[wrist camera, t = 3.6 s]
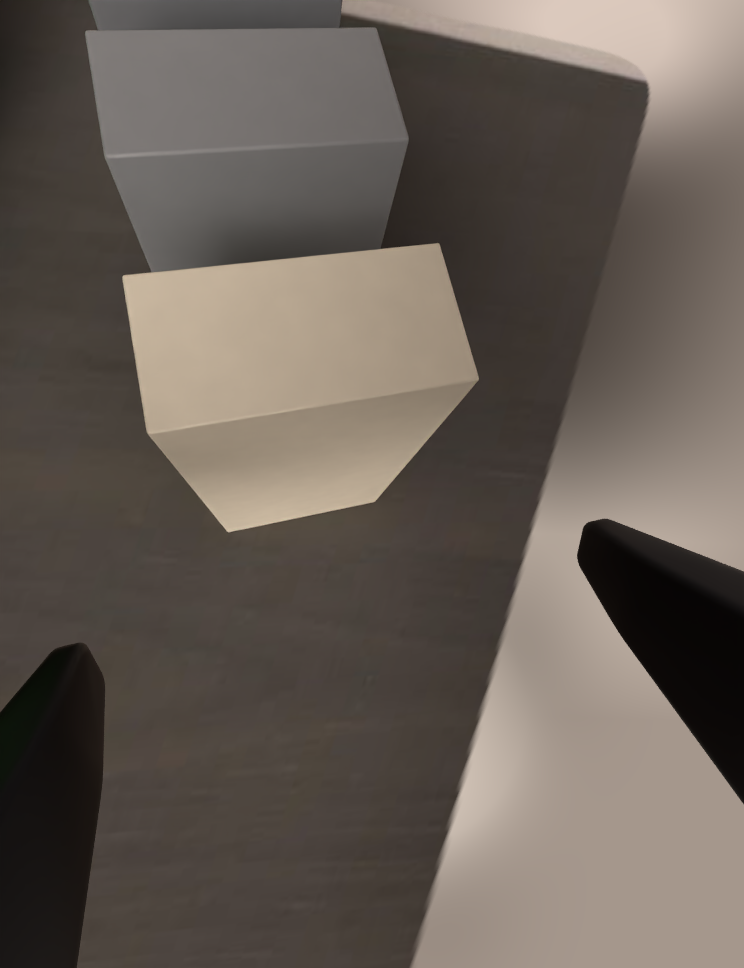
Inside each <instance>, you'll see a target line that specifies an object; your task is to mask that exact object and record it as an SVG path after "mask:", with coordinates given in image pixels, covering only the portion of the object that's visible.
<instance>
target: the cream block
mask: <svg viewBox="0 0 744 968" xmlns="http://www.w3.org/2000/svg"><path fill="white" fill-rule="evenodd" d="M122 279H123V285H124V292H125V298H126V304H127V310H128V317H129V323H130V329H131V336H132V342H133V348H134V355H135V361H136V367H137V374H138V380H139V386H140V393H141V399H142V405H143V412H144V418H145V424H146V431H147V433H148V435H149V436H150V437H151V438H152V440H153V441H154V442H155V443H156V445H157V446H158V447H159V448H160V450H161V451H162V452H163V453H164V454H165V456H166V457H167V458H168V459H169V461H170V462H171V463H172V464H173V465H174V467H175V468H176V469H177V470H178V472H179V473H180V474H181V475H182V476H183V478H184V479H185V480H186V481H187V483H188V484H189V485H190V486H191V488H192V489H193V490H194V491H195V492H196V494H197V495H198V496H199V497H200V499H201V500H202V501H203V502H204V503H205V505H206V506H207V507H208V508H209V510H210V511H211V512H212V513H213V514H214V516H215V517H216V518H217V519H218V521H219V522H220V523H221V524H222V526H223V527H224V528H225V529H226V530H227V532H232V531H237V530H242V529H247V528H251V527H256V526H261V525H266V524H271V523H275V522H280V521H285V520H290V519H295V518H300V517H304V516H309V515H314V514H319V513H324V512H329V511H333V510H338V509H343V508H348V507H353V506H358V505H362V504H367V503H372V502H375V501H376V500H377V499H378V497H379V496H380V495H381V494H382V493H383V492H384V490H385V489H386V488H387V487H388V486H389V485H390V483H391V482H392V481H393V480H394V479H395V477H396V476H397V475H398V474H399V473H400V472H401V470H402V469H403V468H404V467H405V466H406V465H407V463H408V462H409V461H410V460H411V459H412V458H413V456H414V455H415V454H416V453H417V452H418V451H419V449H420V448H421V447H422V446H423V445H424V444H425V442H426V441H427V440H428V439H429V438H430V436H431V435H432V434H433V433H434V432H435V431H436V429H437V428H438V427H439V426H440V425H441V424H442V422H443V421H444V420H445V419H446V418H447V417H448V415H449V414H450V413H451V412H452V411H453V410H454V408H455V407H456V406H457V405H458V404H459V403H460V401H461V400H462V399H463V398H464V397H465V395H466V394H467V393H468V392H469V391H470V390H471V388H472V387H473V386H474V385H475V384H476V383H477V381H478V380H479V377H478V374H477V370H476V367H475V363H474V360H473V357H472V353H471V350H470V346H469V343H468V339H467V336H466V333H465V329H464V326H463V322H462V319H461V316H460V312H459V309H458V305H457V302H456V299H455V295H454V292H453V288H452V285H451V282H450V278H449V275H448V271H447V268H446V265H445V261H444V258H443V254H442V251H441V248H440V244H439V243H435V244H425V245H415V246H405V247H396V248H386V249H376V250H366V251H356V252H347V253H337V254H327V255H317V256H307V257H298V258H288V259H278V260H268V261H258V262H249V263H239V264H229V265H219V266H210V267H200V268H190V269H180V270H170V271H161V272H151V273H141V274H131V275H124V276H123V278H122Z"/></svg>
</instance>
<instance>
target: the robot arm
mask: <svg viewBox="0 0 744 968" xmlns="http://www.w3.org/2000/svg"><path fill="white" fill-rule="evenodd" d="M577 559H578V563H579V566H580V568H581V570H582V571H583V573H584V575H585V576H586V578H587V580H588V582H589V583H590V585H591V587H592V588H593V590H594V592H595V593H596V595H597V597H598V599H599V600H600V602H601V604H602V605H603V607H604V609H605V610H606V612H607V614H608V616H609V617H610V619H611V621H612V622H613V624H614V625H615V627H616V629H617V630H618V632H619V633H620V635H621V636H622V638H623V639H624V641H625V642H626V643H627V645H628V646H629V647H630V649H631V650H632V652H633V653H634V654H635V656H636V657H637V659H638V660H639V661H640V662H641V664H642V665H643V667H644V668H645V669H646V671H647V672H648V674H649V675H650V676H651V678H652V679H653V680H654V682H655V683H656V684H657V686H658V687H659V689H660V690H661V691H662V693H663V694H664V695H665V697H666V698H667V699H668V701H669V702H670V704H671V705H672V706H673V708H674V709H675V711H676V712H677V713H678V715H679V716H680V717H681V719H682V720H683V722H684V723H685V724H686V726H687V727H688V728H689V730H690V731H691V733H692V734H693V735H694V737H695V738H696V739H697V741H698V742H699V743H700V745H701V746H702V748H703V749H704V750H705V752H706V753H707V754H708V756H709V757H710V759H711V760H712V761H713V763H714V764H715V765H716V767H717V768H718V769H719V771H720V772H721V773H722V775H723V776H724V778H725V779H726V780H727V782H728V783H729V785H730V786H731V787H732V789H733V790H734V791H735V793H736V794H737V796H738V797H739V798H740V800H741V801H742V802H743V804H744V572H743V571H741V570H738V569H736V568H733V567H731V566H728V565H726V564H722V563H720V562H718V561H715V560H713V559H710V558H708V557H705V556H702V555H700V554H697V553H695V552H692V551H689V550H687V549H684V548H682V547H679V546H677V545H674V544H671V543H669V542H666V541H664V540H661V539H659V538H656V537H653V536H651V535H648V534H646V533H643V532H640V531H638V530H635V529H633V528H630V527H628V526H625V525H622V524H620V523H617V522H615V521H612V520H609V519H600V520H596V521H592V522H588V523H587V524H586V525H585V526H584V528H583V531H582V536H581V540H580V545H579V549H578V554H577ZM104 709H105V682H104V678H103V675H102V672H101V670H100V669H99V667H98V665H97V663H96V661H95V659H94V658H93V656H92V654H91V652H90V650H89V648H88V647H87V646H86V645H85V644H84V643H75V644H71V645H67V646H63V647H59V648H56V649H55V650H53V651H52V652H51V653H50V654H49V655H48V657H47V658H46V659H45V660H44V661H43V662H42V664H41V665H40V666H39V667H38V668H37V670H36V671H35V672H34V673H33V674H32V675H31V677H30V678H29V679H28V680H27V681H26V683H25V684H24V685H23V686H22V687H21V688H20V690H19V691H18V692H17V693H16V694H15V696H14V697H13V698H12V699H11V700H10V701H9V703H8V704H7V705H6V706H5V707H4V709H3V710H2V711H1V712H0V968H77V961H78V954H79V947H80V940H81V933H82V926H83V919H84V912H85V905H86V898H87V891H88V883H89V876H90V869H91V862H92V855H93V848H94V841H95V834H96V827H97V820H98V813H99V806H100V799H101V790H102V780H103V751H104Z"/></svg>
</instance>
